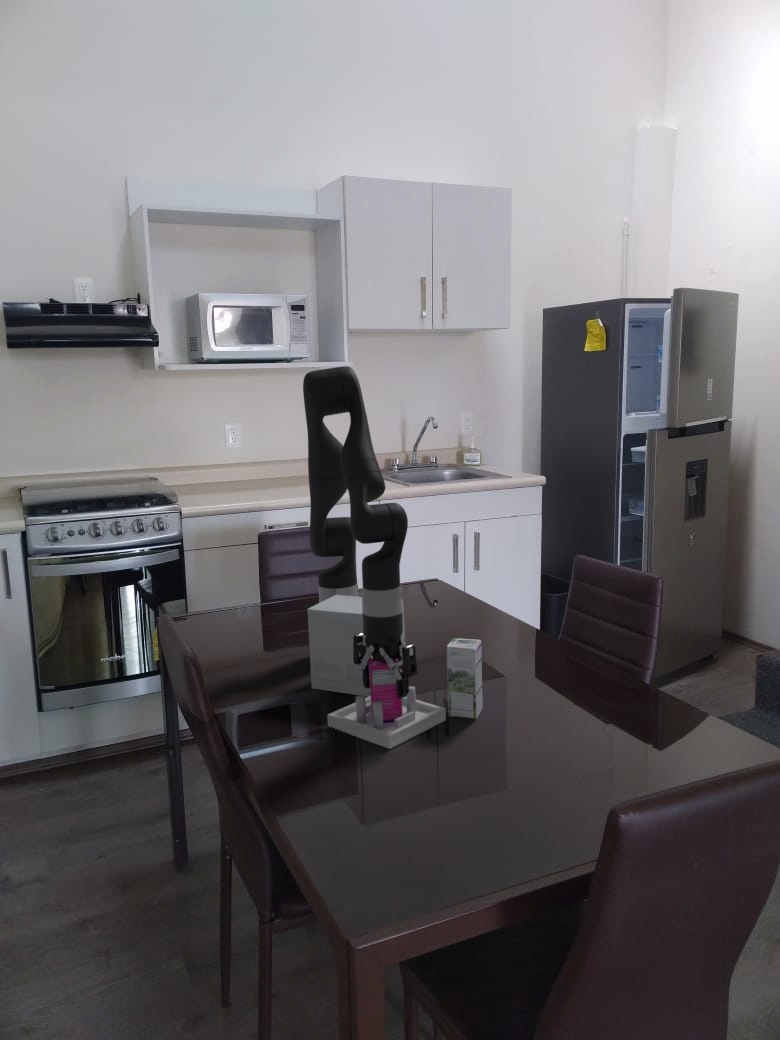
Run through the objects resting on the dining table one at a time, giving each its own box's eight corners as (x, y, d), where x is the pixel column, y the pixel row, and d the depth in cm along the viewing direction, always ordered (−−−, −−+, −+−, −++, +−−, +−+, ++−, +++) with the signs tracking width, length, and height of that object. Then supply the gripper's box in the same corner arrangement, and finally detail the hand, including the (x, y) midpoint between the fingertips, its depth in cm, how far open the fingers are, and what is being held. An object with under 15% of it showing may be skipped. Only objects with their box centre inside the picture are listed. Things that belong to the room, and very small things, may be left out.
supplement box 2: (370, 712, 162) (367, 655, 160) (400, 710, 163) (398, 653, 161) (372, 724, 157) (369, 665, 155) (403, 722, 157) (401, 663, 155)
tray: (384, 701, 171) (383, 672, 170) (445, 720, 160) (445, 689, 159) (327, 726, 159) (326, 695, 158) (389, 748, 149) (388, 716, 148)
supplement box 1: (408, 678, 184) (405, 598, 181) (382, 700, 172) (379, 615, 169) (339, 669, 191) (335, 592, 188) (309, 689, 179) (305, 608, 176)
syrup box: (483, 708, 165) (482, 638, 163) (476, 720, 160) (475, 647, 157) (455, 706, 167) (453, 636, 165) (447, 717, 161) (445, 645, 159)
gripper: (424, 611, 154) (426, 694, 157) (368, 599, 164) (371, 678, 166) (397, 620, 149) (400, 707, 151) (341, 608, 158) (345, 689, 161)
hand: (385, 692), depth 159 cm, fingers open, 8 cm apart
